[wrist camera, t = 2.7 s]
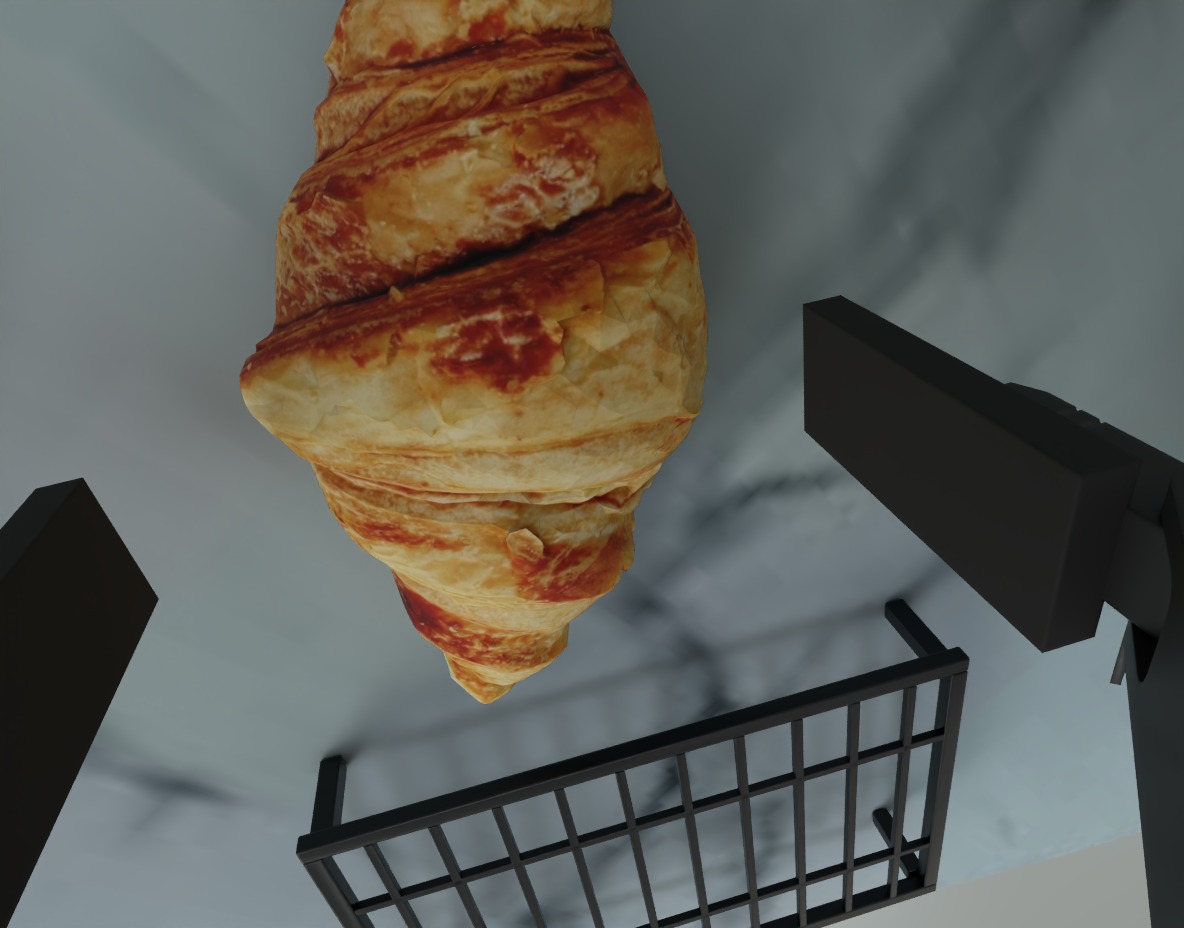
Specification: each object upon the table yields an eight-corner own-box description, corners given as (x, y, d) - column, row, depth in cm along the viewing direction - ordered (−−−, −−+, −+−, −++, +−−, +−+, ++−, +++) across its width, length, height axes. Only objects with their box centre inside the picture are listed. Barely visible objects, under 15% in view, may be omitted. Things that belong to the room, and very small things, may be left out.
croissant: (560, 576, 27) (719, 709, 22) (291, 703, 22) (420, 924, 16) (579, -149, 17) (893, -223, 11) (63, -277, 11) (219, -541, 6)
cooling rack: (909, 591, 27) (970, 657, 24) (890, 817, 34) (936, 891, 31) (310, 757, 25) (295, 854, 22) (424, 961, 32) (425, 1055, 29)
